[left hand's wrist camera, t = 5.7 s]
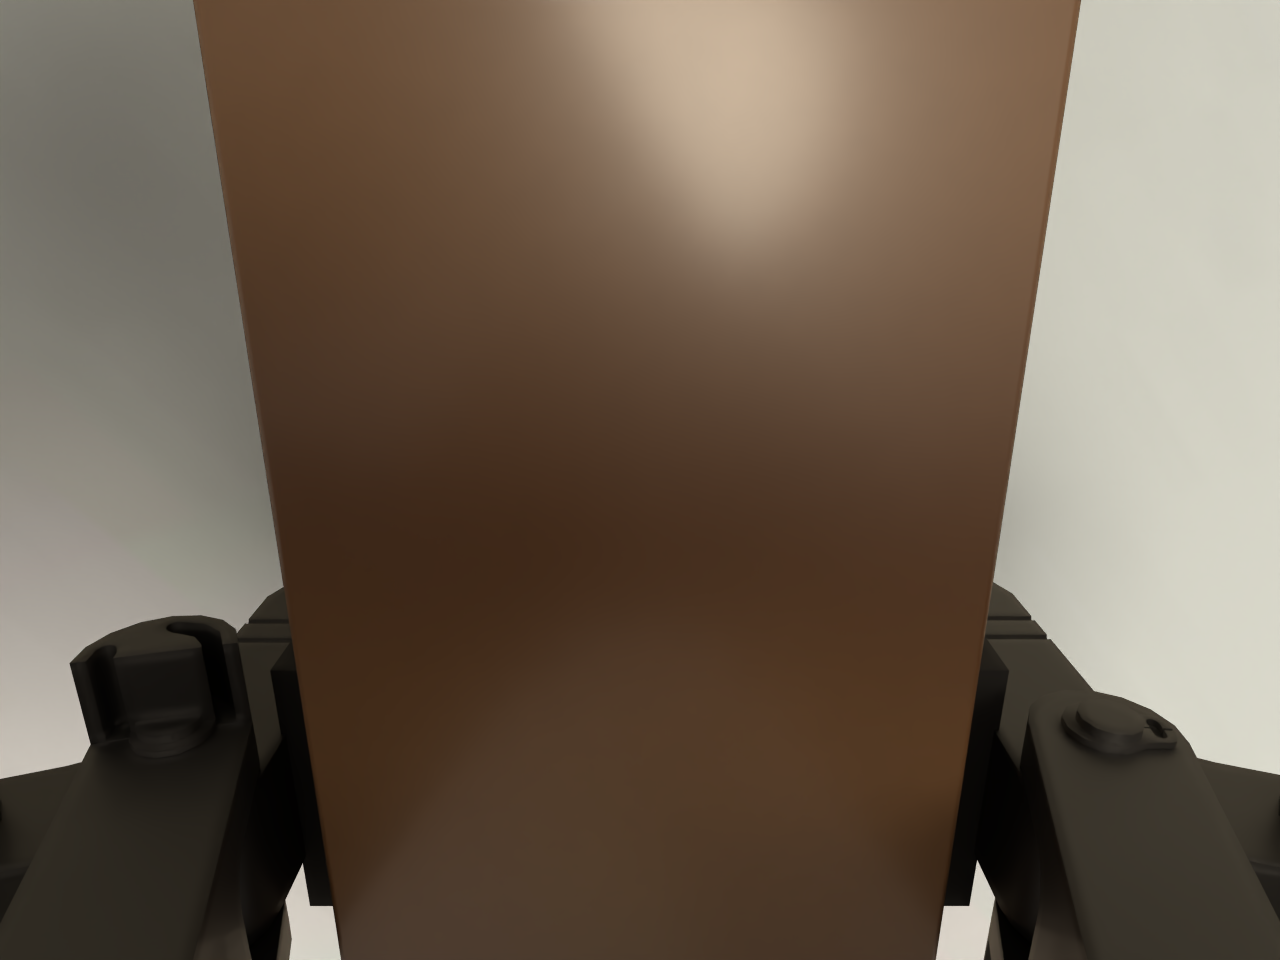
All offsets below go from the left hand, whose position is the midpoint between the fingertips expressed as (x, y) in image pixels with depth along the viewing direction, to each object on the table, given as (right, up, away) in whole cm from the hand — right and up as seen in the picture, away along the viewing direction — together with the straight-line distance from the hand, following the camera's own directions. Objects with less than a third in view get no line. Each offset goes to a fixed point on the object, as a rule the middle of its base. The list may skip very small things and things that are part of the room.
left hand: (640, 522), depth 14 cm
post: (0, +30, -10) cm, 32 cm away
